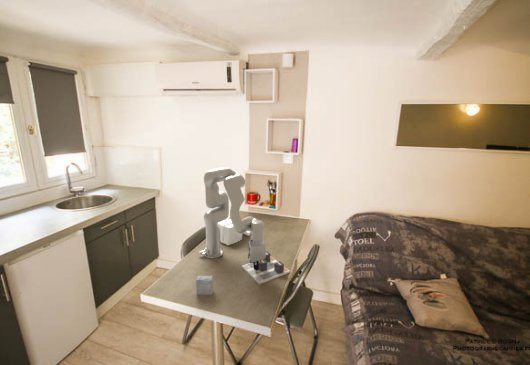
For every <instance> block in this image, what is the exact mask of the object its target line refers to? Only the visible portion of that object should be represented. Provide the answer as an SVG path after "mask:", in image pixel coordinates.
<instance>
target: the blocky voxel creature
mask: <svg viewBox="0 0 530 365" xmlns="http://www.w3.org/2000/svg"><path fill="white" fill-rule="evenodd" d="M218 226H219V227H220V243H222V244H225V245H226V246H231V245H233V244H235V243H238V241H239V242H241V241H240V240H242V241H243V234H244V235H246V236H251V231H250V230H248V231H246V232H244V233H238V232H237V231H236V230H235V229H234V227H233V224H232V222H231V219H230V218H229V219H225V220H223V221H221V222H219V223H218Z"/></svg>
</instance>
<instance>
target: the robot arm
mask: <svg viewBox="0 0 530 365" xmlns="http://www.w3.org/2000/svg"><path fill="white" fill-rule="evenodd" d="M203 182H204V187H205V188H204V189H205V190H204V192H205V193H204V194H205V205H206V207H207V208H208V209H209V210H207V211H206V212H205V213H204V214H203V221H204V226H205V247H204V249H203V250H200V251H199V252H198V253H199V255H202V256H204V257H205V258H206V259H219V258H220V257H222V255H223V254H224V251H223V250H222V249H221V242H220V227H219V226H218V223H219V222H221V221H225V220H228V217H229V219H231V222H232V224H233V227H234V229H235V230H236V231H237V232H238V233H244V232H246V231H250V232H251V233H250V240H249V241H248V244H249V245H248V249H247V259H248V260H247V262H248V263H253V264H254V267H253V268H254V269H255V270H256V271H257V270H259V264H260V262H261V260H262V259H264V258H265V257H266V251H267V249H266V243H265V242H264V236H265V229H264V228H265V223H264V221H263V220H260V219H257V218H256V217H253V216H251V215H248V216H246V217H244V218H241V216H240V215H241V214H240V209H241V206H242V204H243V203H244V202H245V201H246V200H245V199H246V198H245V197H244V193H243V191H242V188H243V187H245V185H246V180H245V178H244V176H243V175H242V174H240V173H239V172H237V170H234V169H232V168H231V167H228V166H227V167H217V168H212V169H210V170H207V171H206V172H205V173H204V176H203ZM220 182H223V187H224V189H225V191H226V192H225V191H223V190H220V187H219V185H218V183H220ZM229 202H230V204H229ZM229 206H230V207H229ZM229 208H230V209H229ZM229 210H230V212H229Z"/></svg>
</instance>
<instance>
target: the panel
mask: <svg viewBox="0 0 530 365" xmlns="http://www.w3.org/2000/svg"><path fill="white" fill-rule="evenodd" d="M262 260H263V259H262ZM264 260H265V261H266V262H267V270H265V271H262V272H261V271H260V270H257V271H256V270H255V269H254V268H253V267H254V264H253V263H249V262H248V263H246V264H242V265H241V268H242V269H243V270H244V271H245V272H246V273H247V274H248V275H249V276H250V277H251V278H252V279H253V280H254V281H255V282H256V283H257V284H258V285H261V284H263V283H266V282H269V281H273V280H274V279H277V278H279V277H282V276H284V275H288V274H290V272H291V271H290V269H288V268H286V267H285V263H283V262H281V261H278V260H276V259H275V258H274V257H272V256H271V253H270V252H269V251H267V250H266V257H265V258H264Z"/></svg>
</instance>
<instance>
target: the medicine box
mask: <svg viewBox="0 0 530 365" xmlns="http://www.w3.org/2000/svg"><path fill="white" fill-rule="evenodd" d="M195 283H196V284H195V287H196V295H197V296H211V295H213V291H214V276H213V275H198V276H197V278H196V280H195Z"/></svg>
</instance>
